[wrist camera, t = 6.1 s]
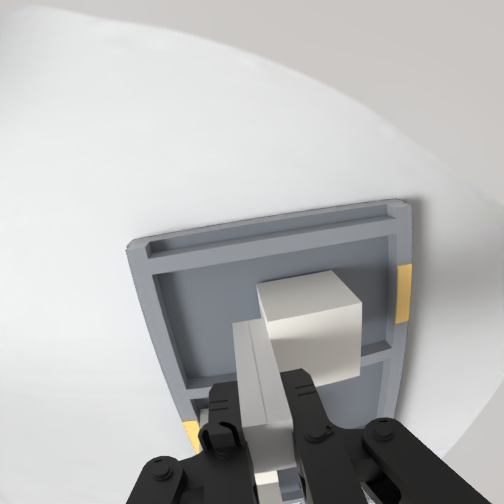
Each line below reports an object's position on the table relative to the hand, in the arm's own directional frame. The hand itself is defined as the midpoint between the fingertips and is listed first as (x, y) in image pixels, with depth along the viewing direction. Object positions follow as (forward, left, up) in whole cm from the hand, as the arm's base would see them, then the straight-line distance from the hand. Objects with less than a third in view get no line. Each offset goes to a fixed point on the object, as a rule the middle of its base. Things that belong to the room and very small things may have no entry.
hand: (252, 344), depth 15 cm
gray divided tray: (+8, +2, -4) cm, 9 cm away
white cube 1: (0, +3, -2) cm, 3 cm away
